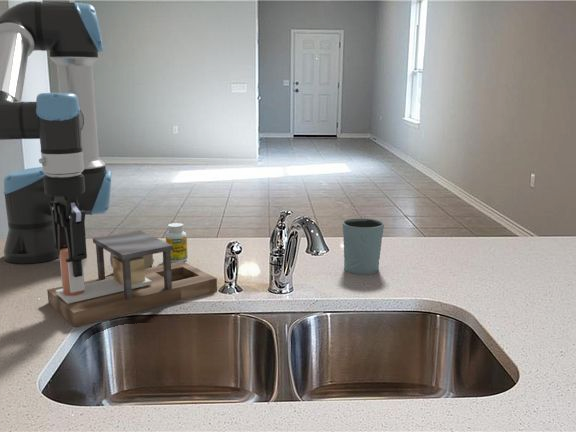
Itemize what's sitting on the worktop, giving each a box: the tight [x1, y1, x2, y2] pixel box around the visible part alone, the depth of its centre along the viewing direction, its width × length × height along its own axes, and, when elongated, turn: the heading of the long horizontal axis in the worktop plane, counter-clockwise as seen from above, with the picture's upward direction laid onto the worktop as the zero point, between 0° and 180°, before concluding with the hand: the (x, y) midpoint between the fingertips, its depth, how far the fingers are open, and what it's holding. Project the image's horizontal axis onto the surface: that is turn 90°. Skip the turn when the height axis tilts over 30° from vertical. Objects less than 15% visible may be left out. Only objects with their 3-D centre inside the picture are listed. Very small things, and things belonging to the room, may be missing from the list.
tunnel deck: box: [46, 230, 218, 328], centre depth 128 cm, size 16×32×12 cm, turn 129°
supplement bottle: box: [165, 222, 188, 263], centre depth 154 cm, size 5×5×10 cm
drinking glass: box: [342, 217, 385, 275], centre depth 147 cm, size 10×10×12 cm
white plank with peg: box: [56, 248, 152, 304], centre depth 123 cm, size 7×18×10 cm, turn 129°
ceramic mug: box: [109, 253, 155, 269], centre depth 147 cm, size 11×8×8 cm
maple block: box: [112, 256, 145, 286], centre depth 127 cm, size 5×5×5 cm
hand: (73, 287), depth 120 cm, fingers closed on white plank with peg, 4 cm apart
